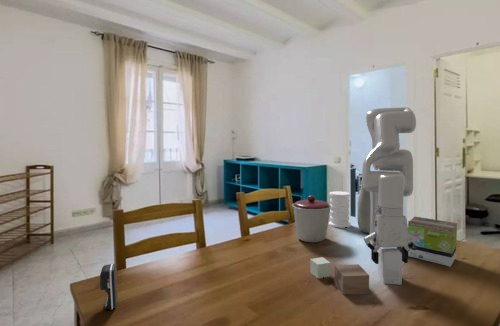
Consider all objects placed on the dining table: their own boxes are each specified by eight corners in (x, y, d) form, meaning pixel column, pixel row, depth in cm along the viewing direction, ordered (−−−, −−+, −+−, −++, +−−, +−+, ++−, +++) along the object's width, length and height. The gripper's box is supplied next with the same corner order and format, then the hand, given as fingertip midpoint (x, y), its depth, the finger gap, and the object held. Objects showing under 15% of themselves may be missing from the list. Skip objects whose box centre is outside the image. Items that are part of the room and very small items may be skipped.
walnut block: (334, 282, 97) (334, 265, 96) (358, 281, 97) (358, 264, 97) (342, 295, 89) (343, 276, 88) (368, 294, 89) (369, 275, 89)
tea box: (406, 257, 117) (407, 220, 116) (413, 250, 124) (414, 215, 123) (451, 267, 106) (453, 227, 105) (456, 259, 114) (457, 221, 113)
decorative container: (347, 229, 155) (348, 195, 153) (326, 226, 160) (326, 193, 159) (352, 223, 164) (352, 192, 163) (331, 221, 170) (331, 190, 169)
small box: (401, 285, 94) (402, 253, 93) (383, 284, 95) (383, 252, 94) (394, 274, 102) (395, 244, 101) (377, 273, 103) (378, 243, 102)
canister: (324, 248, 127) (324, 200, 126) (286, 241, 137) (285, 197, 136) (335, 236, 143) (336, 194, 141) (300, 231, 152) (300, 191, 151)
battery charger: (103, 300, 88) (101, 263, 87) (117, 297, 89) (115, 261, 88) (100, 312, 81) (98, 272, 81) (115, 310, 83) (113, 270, 82)
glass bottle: (353, 230, 152) (353, 177, 150) (369, 228, 155) (369, 175, 153) (367, 236, 142) (367, 179, 141) (383, 233, 146) (384, 178, 144)
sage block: (310, 272, 104) (310, 259, 104) (322, 270, 106) (322, 257, 106) (317, 278, 100) (317, 264, 99) (330, 276, 101) (330, 262, 101)
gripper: (369, 214, 93) (368, 267, 94) (423, 213, 93) (421, 265, 95) (359, 209, 100) (359, 258, 102) (409, 208, 101) (408, 256, 102)
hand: (389, 262), depth 98 cm, fingers open, 9 cm apart
